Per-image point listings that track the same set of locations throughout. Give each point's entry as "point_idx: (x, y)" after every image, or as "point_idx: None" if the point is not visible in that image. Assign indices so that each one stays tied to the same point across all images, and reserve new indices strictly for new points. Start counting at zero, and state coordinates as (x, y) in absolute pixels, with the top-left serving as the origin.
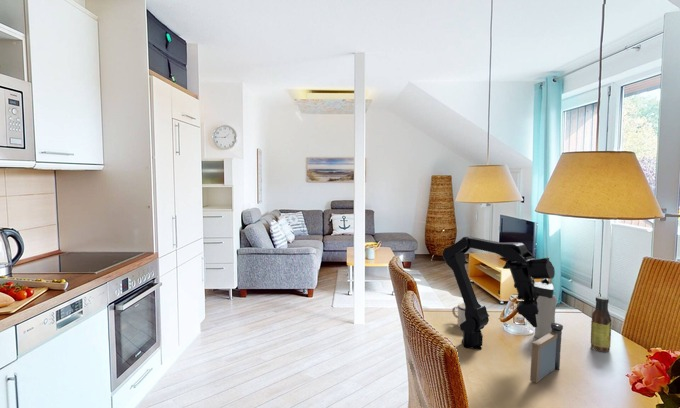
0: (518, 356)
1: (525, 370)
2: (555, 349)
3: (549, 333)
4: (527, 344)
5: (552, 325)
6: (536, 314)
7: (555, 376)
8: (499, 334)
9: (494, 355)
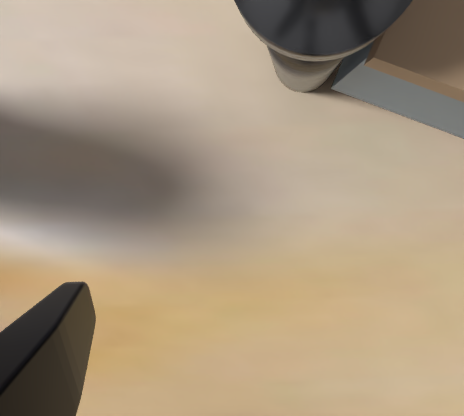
0: (256, 265)
1: (436, 221)
2: None
3: (454, 75)
4: (49, 224)
5: (393, 20)
6: (89, 296)
7: None
8: None
9: (318, 385)
